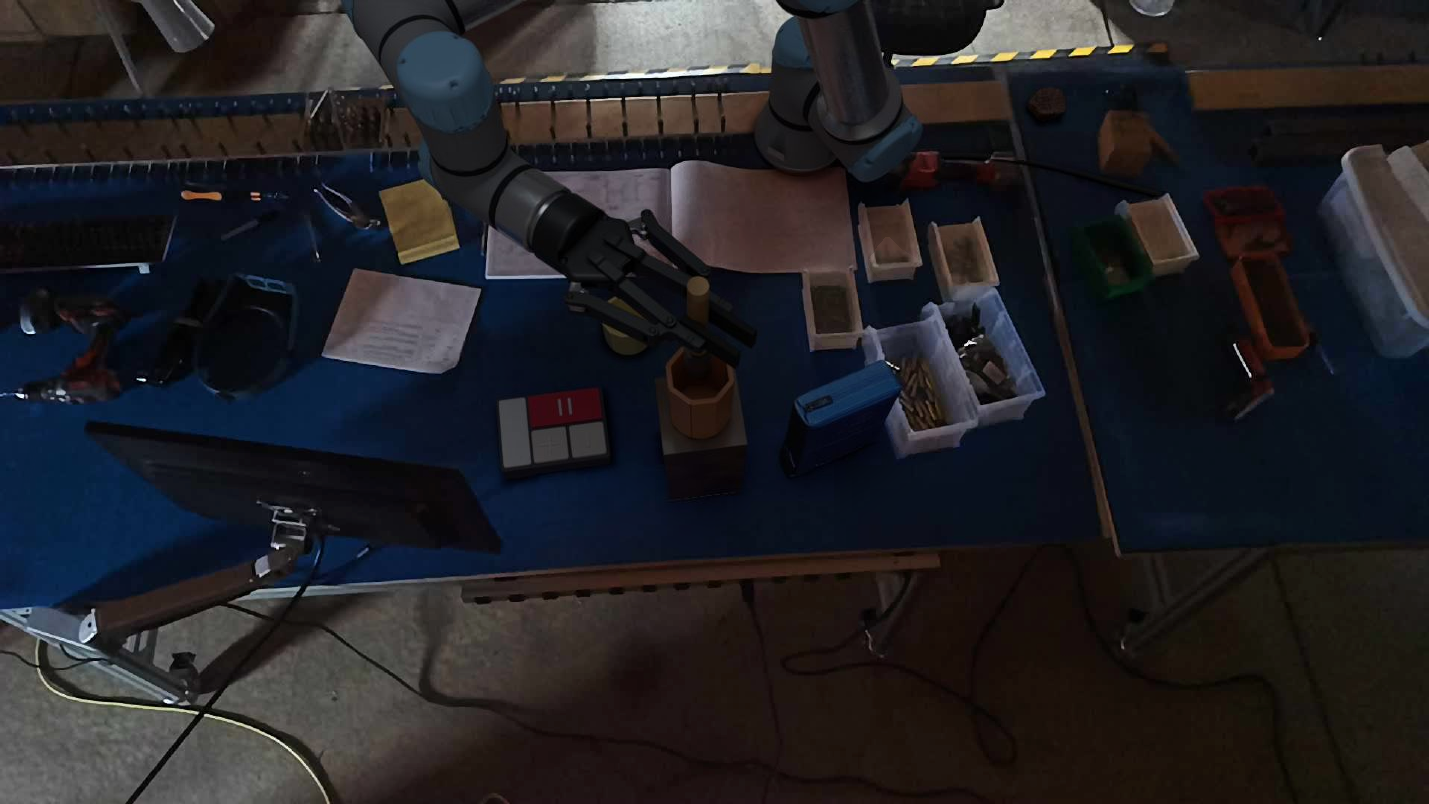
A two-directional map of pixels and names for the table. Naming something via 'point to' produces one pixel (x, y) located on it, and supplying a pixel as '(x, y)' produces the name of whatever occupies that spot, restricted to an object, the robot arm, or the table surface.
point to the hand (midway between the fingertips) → (745, 349)
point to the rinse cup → (618, 339)
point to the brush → (698, 310)
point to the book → (838, 418)
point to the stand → (702, 453)
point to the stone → (1047, 104)
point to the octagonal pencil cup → (699, 398)
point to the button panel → (552, 432)
